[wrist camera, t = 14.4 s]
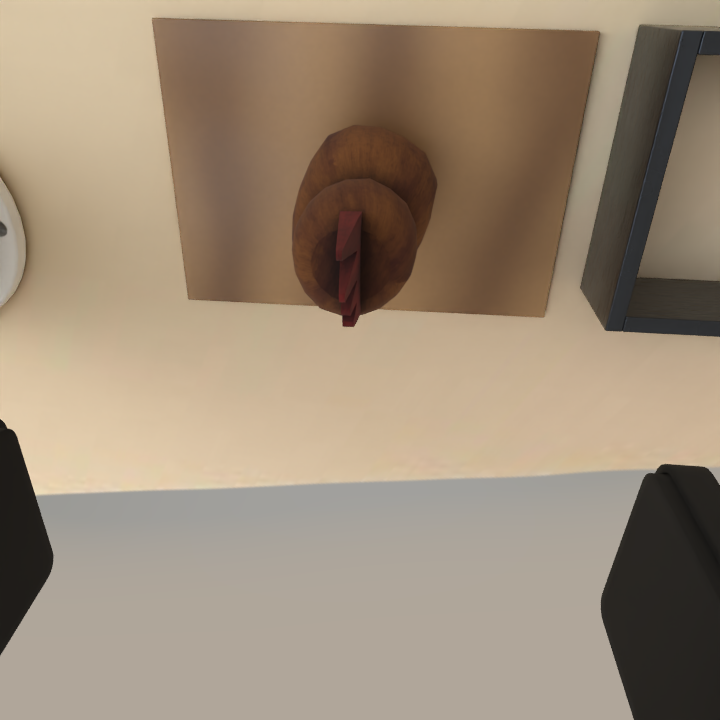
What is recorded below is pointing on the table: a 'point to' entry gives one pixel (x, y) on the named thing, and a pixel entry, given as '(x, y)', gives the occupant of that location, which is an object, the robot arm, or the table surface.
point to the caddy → (647, 193)
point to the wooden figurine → (361, 219)
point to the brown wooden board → (381, 109)
